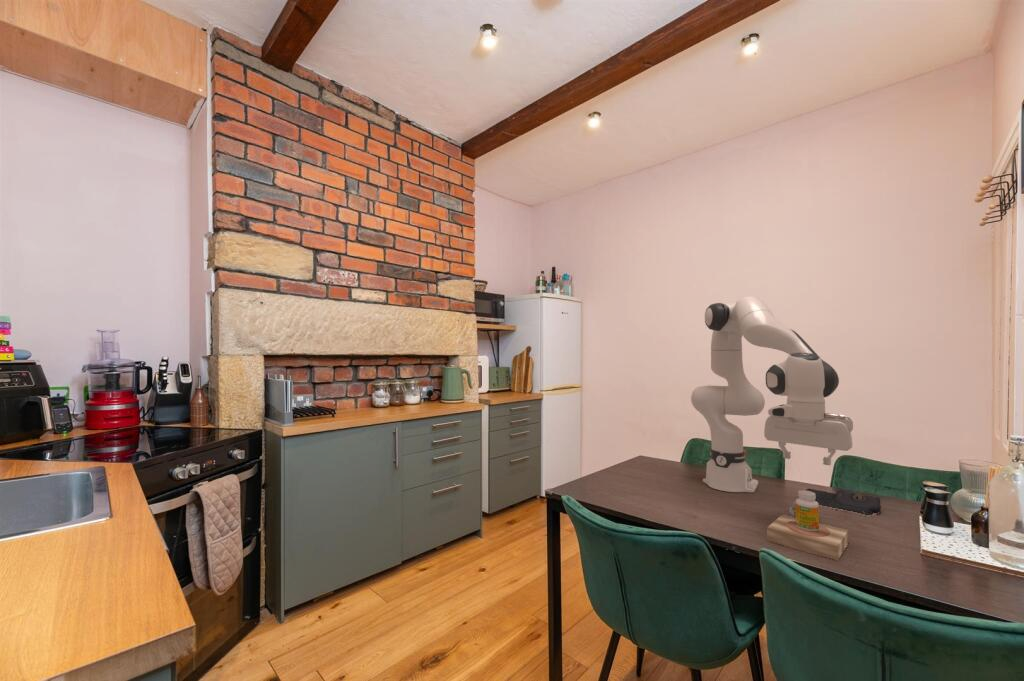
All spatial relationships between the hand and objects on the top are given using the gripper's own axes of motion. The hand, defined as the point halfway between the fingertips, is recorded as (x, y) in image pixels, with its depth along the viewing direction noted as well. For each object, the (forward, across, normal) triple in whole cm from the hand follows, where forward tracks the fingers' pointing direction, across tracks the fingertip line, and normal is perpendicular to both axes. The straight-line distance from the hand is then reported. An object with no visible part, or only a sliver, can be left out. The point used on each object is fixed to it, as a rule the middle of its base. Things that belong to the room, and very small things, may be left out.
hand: (806, 461), depth 121 cm
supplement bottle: (+18, 0, +1) cm, 18 cm away
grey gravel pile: (+23, +5, -19) cm, 30 cm away
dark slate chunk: (+24, 0, -42) cm, 48 cm away
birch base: (+22, 0, +1) cm, 22 cm away
